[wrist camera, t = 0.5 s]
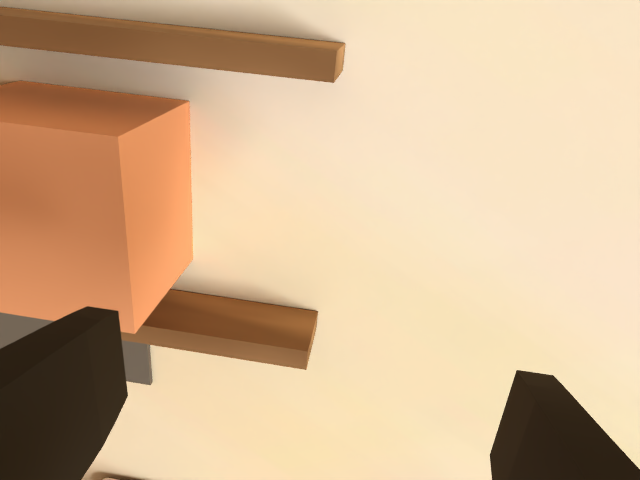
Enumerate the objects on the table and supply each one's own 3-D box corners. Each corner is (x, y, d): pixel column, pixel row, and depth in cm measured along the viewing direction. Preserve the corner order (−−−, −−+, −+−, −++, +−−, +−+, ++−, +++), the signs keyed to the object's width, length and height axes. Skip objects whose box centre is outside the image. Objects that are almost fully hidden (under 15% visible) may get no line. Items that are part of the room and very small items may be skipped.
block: (194, 257, 20) (134, 333, 15) (47, 236, 20) (-52, 304, 16) (190, 100, 17) (117, 136, 13) (22, 80, 18) (-105, 108, 13)
